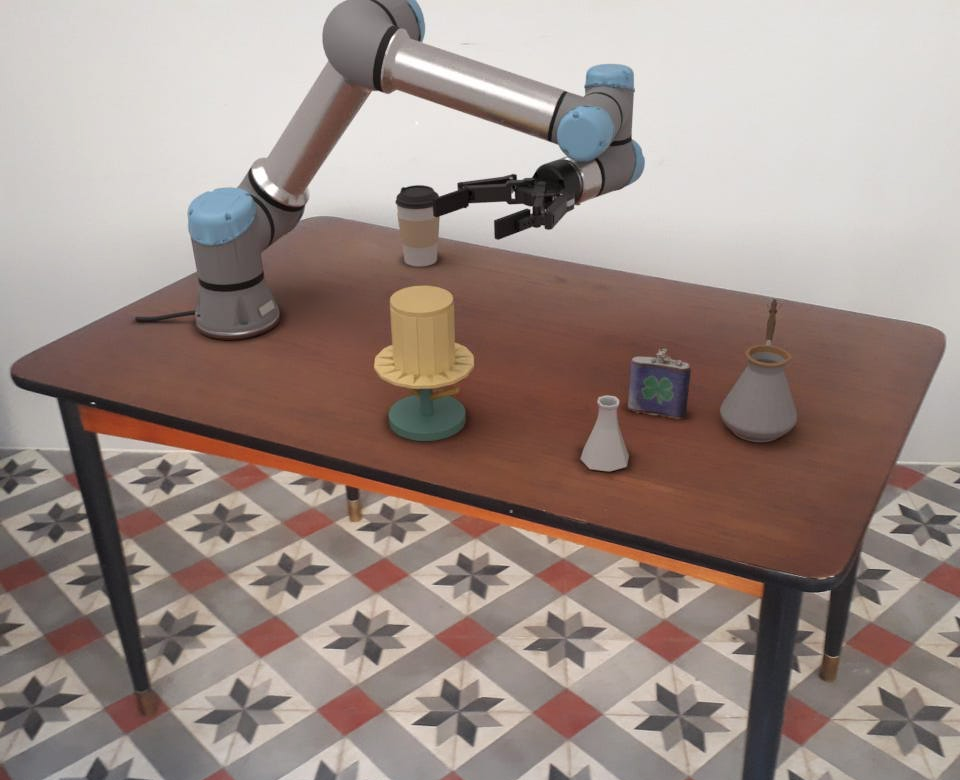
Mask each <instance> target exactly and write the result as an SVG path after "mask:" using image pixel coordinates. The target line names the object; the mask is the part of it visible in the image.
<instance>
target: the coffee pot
mask: <svg viewBox="0 0 960 780" xmlns="http://www.w3.org/2000/svg"><path fill="white" fill-rule="evenodd" d="M770 303H771V304H770ZM769 304H770V305H769ZM778 304H779V305H780V306H779V307H777V306H778ZM766 306H767V308H769V309H768V312H769V316H768V319H767V322H766V334H765V344H757V345H753V346H750V347H748V349H746V351H745V353H744V355H745V358H746V359H747V366H746V367H745V369H744V370H743V372H742V373H741V374H740V376H739V378H738V379H737V381H736V382H735V383H734V385H733V387H732V388H731V390H730V391H729V392H728V393H727V395H726V397H725V398H724V400H723V401H722V403H721V405H720V407H719V411H720V412H719V414H720V417H721V420H722V422H723V423H724V425H725V426H726V427H727V428H728V430H730V431H731V432H732V434H734V435H735V436H736V437H738V438H740V439H742V440H745V441H747V442H753V443H769V442H773V441H775V440H777V439H779V438H781V437H782V436H784V435H787V434H788V433H790V432H791V430H792V429H793V428H794V426H795V425H796V423H797V420H798V413H797V408H796V406H795V403H794V399H793V395H792V392H791V390H790V389H791V388H790V386H789V382H788V379H787V376H786V372H785V368H786V367H787V366H788V365H789V363H790V362H792V361H793V359H794V358H793V356H792V355H791V354H790V352H788V351H786V350H785V349H783V348H781V347H778V346H776V345H772V343H773V338H774V335H775V334H774V333H775V327H776V325H777V324H776V323H777V322H776V321H777V320H776V319H777V318H776V315H777V313H778V310H779V309H781V308H782V306H783V305H782V302H780V301H778V300H777V299H772V300H769V301H767V303H766Z"/></svg>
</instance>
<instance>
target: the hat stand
mask: <svg viewBox="0 0 960 780" xmlns="http://www.w3.org/2000/svg"><path fill="white" fill-rule="evenodd" d="M402 388H403V389H404V390H406V391H407V392H409V393H410V394H412V395H409V396H406V397H404V398H401V399H399V400H398V401H396V402H394V403H393V404H392V406H391V407H390V408H389V411H388V425H389V427H390V429H391V430H392V432H393V433H394V434H396V435H398V436H400V437H401V438H404V439H407V440H410V441H417V442H433V441H439V440H444V439H447V438H449V437H452V436H455V435H456V434H458V433H459V432H460V431H462V430H463V428H464V427H465V425H466V420H467V417H466V416H467V415H466V414H467V413H466V408H465V406H464V405H463V403H462V402H461V401H460V400H458V399H457V398H455V397H452V396H454V395H458V394H459V393H460V388H459V387H458V386H453V387H449V388H446V389H442V390H437V391H434V392H433V389H434V388H433V389H411V388H406V387H402Z"/></svg>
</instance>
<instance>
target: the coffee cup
mask: <svg viewBox="0 0 960 780" xmlns="http://www.w3.org/2000/svg"><path fill="white" fill-rule="evenodd" d="M439 196H440V195H439V193H437V192H436V191H435V190H434V188H433V187H431V186H428V185H424V184H416V185H414V184H413V185H409V186H406V187H404V186H402V187H401V188H400V192H399V193H398V194H397V195H396V198H395V205H396V209H397V213H396V214H397V223H398V229H399V234H400V242H401V244H402V245H401V247H402V252H403V259H404V263H405V264H406V265H408V266H411V267H428V266H431V265H435V264H436V262H437V261H438V246H439V245H438V244H439V237H440V236H439V235H440V217H441V216H439V217H434V216H433V203H432V199H433V198H436V197H439Z"/></svg>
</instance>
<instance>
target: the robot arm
mask: <svg viewBox="0 0 960 780" xmlns="http://www.w3.org/2000/svg"><path fill="white" fill-rule="evenodd" d="M425 35H426V23H425V17H424V13H423V10H422V8H421V6H420V4H419V3H418V1H417V0H344V1H342V2H340V3H339V4H337V5H336V6H334V7H333V9H332V10H331V11H330V12H329V14H328V15H327V17H326V19H325V21H324V23H323V26H322V35H321V36H322V37H321V38H322V39H321V41H322V47H323V51H324V54H325V56H326V59H327V62H326V63H325V65H324V66H323V68H322V70H321V71H320V73H319V75H318V76H317V78H316V79H315V81H314V83H313V84H312V86H311V88H310V89H309V91H308V93H307V94H306V95H305V97H304V99H303V100H302V102H301V103H300V105H299V106H298V108H297V110H296V111H295V112H294V114H293V116H292V117H291V119H290V121H289V122H288V124H287V125H286V127H285V129H284V130H283V132H282V133H281V135H280V137H278V140H277V141H276V143H275V145H274V146H273V147H272V149H271V151H270V152H269V154H268V156H267V157H260V158H257V159H256V160H255V161H253V163H252V165H251V166H250V168H249V169H248V170H247V173H246V174H245V176H244V177H243V179H242V180H241V181H240V183H239V184H238V186H237V187H233V186H232V187H230V186H229V187H218V188H214V189H213V190H212V191H209V190H207V191H205V192H203V193H201V194H199V195H198V196H196V197H195V198H194V199H193V200H192V201H191V202H190V203H189V205H188V207H187V230H188V234H189V236H190V242H191V247H192V252H193V256H194V264H195V269H196V273H197V280H198V286H199V287H198V295H197V300H196V306H195V310H187V311H180V312H174V313H168V314H163V315H157V316H135V317H134V320H135V321H136V322H158V321H165V320H169V319H175V318H182V317H188V316H194V321H195V326H196V329H197V331H198V332H199V333H200V334H201V335H203V336H205V337H208V338H211V339H215V340H221V341H234V340H235V341H236V340H245V339H249V338H254V337H257V336H261V335H263V334H266V333H267V332H269V331H271V330H272V329H274V328H276V326H277V325H278V324H279V323H280V319H281V313H280V309H279V305H278V303H277V301H276V300H275V298H274V296H273V294H272V291H271V289H270V287H269V285H268V283H267V281H266V277H265V271H264V265H263V257H262V253H263V252H265V251H266V250H267V249H268V248H270V247H271V246H272V245H273V244H275V243H276V242H277V241H279V240H280V239H281V238H283V237H284V236H286V235H287V234H289V233H290V232H292V231H293V230H294V229H295V228H296V227H297V225H299V223H300V221H301V220H302V219H303V216H304V213H305V209H306V205H307V204H308V202H309V201H310V198H311V197H310V196H311V194H310V193H311V192H310V190H309V187H308V186H309V185H310V184H311V183H312V181H313V180H314V178H315V176H316V175H317V174H318V172H319V171H320V169H321V167H322V166H323V164H324V163H325V162H326V160H327V159H328V157H329V156H330V155H331V153H332V152H333V150H334V148H335V147H336V145H337V144H338V143H339V141H340V139H341V138H342V136H343V135H344V133H345V132H346V131H347V129H348V127H349V126H350V125H351V123H352V122H353V120H354V119H355V117H356V116H357V115H358V113H359V112H360V110H361V108H362V107H363V105H364V104H365V103H366V101H367V100H368V98H369V97H370V95H371V94H372V92H380V93H383V94H386V95H390V94H392V93H394V92H395V91H399V92H402V93H404V94H408V95H411V96H414V97H416V98H420V99H422V100H426V101H428V102H431V103H434V104H437V105H440V106H443V107H445V108H449V109H450V110H455V111H458V112H461V113H464V114H467V115H469V116H472V117H475V118H479V119H481V120H484V121H487V122H490V123H493V124H496V125H499V126H501V127H504V128H508V129H510V130H513V131H516V132H520V133H522V134H525V135H528V136H531V137H534V138H537V139H539V140H543V141H545V142H549V143H552V144H554V145H557V146H558V148H559V149H560V150H561V152H562V153H563V154H564V155H565V156H563V157H561V158H559V159H555V160H551V161H549V162H546V163H543V164H541V165H540V166H538V168H536V170H535V172H534V174H533V175H532V177H524V178H522V179H518V175H517V174H516V173H511V174H507V175H503V176H497V177H489V178H483V179H475V180H474V179H473V180H468V181H467V180H465V181H459V182H457V183H456V185H457V190H454V191H452V192H448V193H445V194H442V195H439V197H436V198H433V199H432V203H433V216H434V217H439V216H440V217H442V216H445V215H449V214H450V213H451V214H452V213H453V212H457V211H460V210H462V209H468V208H469V206H470V204H487V203H488V204H489V203H504V202H505V203H506V204H507V205H510V206H511V205H524V206H527V207H532V208H531V209H532V212H531V209H530V208H524V209H522V210H519V211H515V212H512V213H511V214H508V215H505V216H501V217H499V218H497V219H494V220H493V231H494V232H493V234H494V239H495V240H497V241H499V240H501V239H505V238H507V237H510V236H512V235H515V234H517V233H520V232H524V231H525V230H528V229H531V228H535V229H539V228H541V227H542V226H543V227H544V229H545V230H547V231H549V230H553V229H554V228H555V227H556V226H557V225H558V223H559V222H561V220H562V219H563V218H564V216H565V215H567V213H570V212H572V211H573V210H575V206H581V204H582V203H585V202H587V201H590V200H592V199H596V198H598V197H601V196H604V195H607V194H609V193H612V192H615V191H616V192H617V191H620V190H622V189H624V188H626V187H628V186H631V185H632V184H634V183H635V182H637V181H638V180H639V179H640V178H641V176H642V175H643V173H644V170H645V166H646V159H645V155H643V149H642V147H641V145H640V144H639V143H638V142H637V141H635V140H634V139H633V119H634V116H633V115H634V113H633V112H634V98H635V92H636V88H635V73H634V70H633V69H632V68H631V67H630V66H628V65H625V64H620V63H601V64H597V65H593V66H590V67H589V68H588V69H587V71H586V74H585V84H584V86H583V88H584V96H582V95H579V94H576V93H573V92H570V91H568V90H565V89H563V88H559V87H557V86H553V85H550V84H547V83H544V82H542V81H538V80H535V79H532V78H529V77H526V76H523V75H521V74H517V73H514V72H511V71H508V70H505V69H503V68H499V67H496V66H493V65H490V64H487V63H484V62H481V61H478V60H476V59H472V58H469V57H467V56H463V55H460V54H457V53H455V52H451V51H448V50H445V49H443V48H440V47H436V46H434V45H431V44H427V43H425V42H424V40H425V39H424V38H425ZM512 194H514V198H513V197H512V196H513V195H512Z"/></svg>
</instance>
